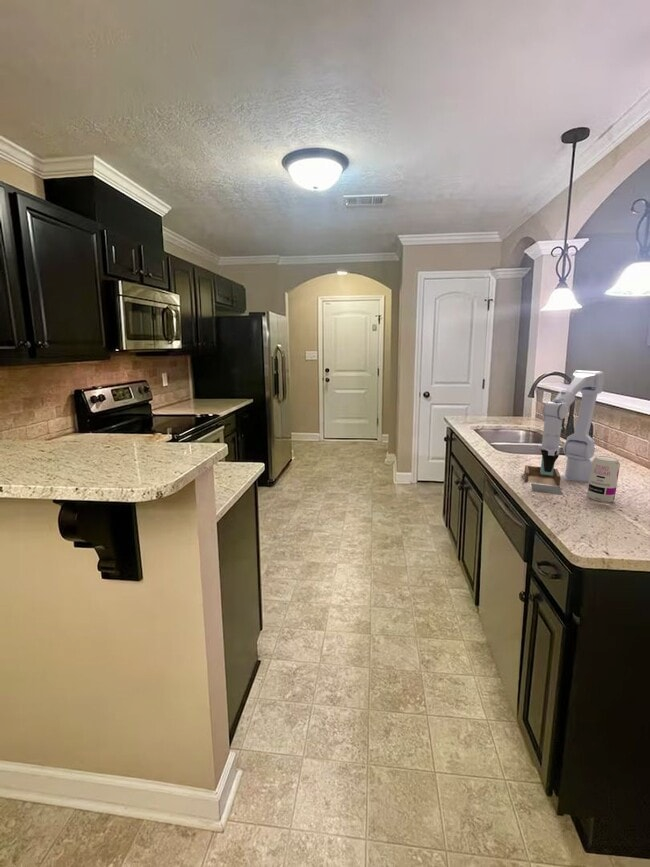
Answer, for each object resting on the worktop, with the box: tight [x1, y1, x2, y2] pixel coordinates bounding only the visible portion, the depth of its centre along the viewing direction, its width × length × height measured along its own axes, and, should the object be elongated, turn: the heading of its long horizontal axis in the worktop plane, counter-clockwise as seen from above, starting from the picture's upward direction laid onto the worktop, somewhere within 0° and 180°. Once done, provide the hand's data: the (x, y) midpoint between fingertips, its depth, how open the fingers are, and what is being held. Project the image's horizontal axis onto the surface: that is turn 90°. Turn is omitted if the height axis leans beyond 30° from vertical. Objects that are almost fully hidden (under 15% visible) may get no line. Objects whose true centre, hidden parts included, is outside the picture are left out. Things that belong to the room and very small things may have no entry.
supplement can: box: [587, 455, 621, 503], centre depth 151 cm, size 8×8×15 cm
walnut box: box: [524, 465, 561, 487], centre depth 173 cm, size 12×12×4 cm
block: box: [540, 455, 555, 475], centre depth 161 cm, size 4×4×6 cm
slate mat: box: [531, 483, 564, 496], centre depth 161 cm, size 10×10×1 cm
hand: (547, 470), depth 161 cm, fingers closed on block, 4 cm apart
